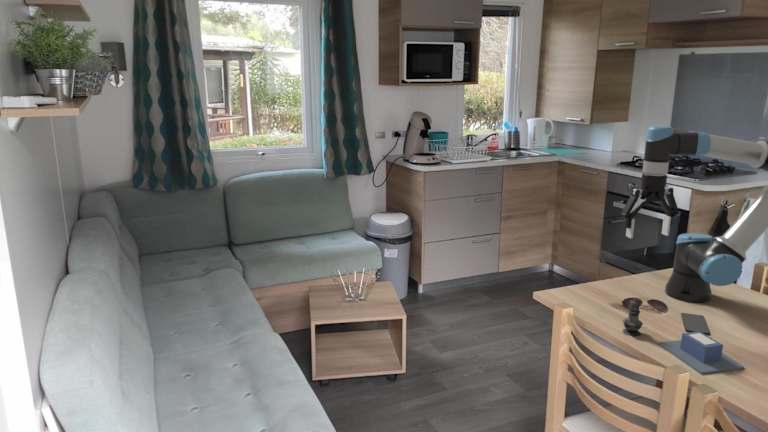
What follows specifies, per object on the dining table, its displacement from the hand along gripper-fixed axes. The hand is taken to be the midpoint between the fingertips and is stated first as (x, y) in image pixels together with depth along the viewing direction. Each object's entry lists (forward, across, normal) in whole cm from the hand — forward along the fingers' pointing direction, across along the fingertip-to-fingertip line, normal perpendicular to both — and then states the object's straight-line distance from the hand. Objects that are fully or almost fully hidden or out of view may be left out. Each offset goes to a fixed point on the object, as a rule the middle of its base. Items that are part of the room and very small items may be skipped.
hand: (647, 236), depth 196 cm
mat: (+27, +3, +33) cm, 43 cm away
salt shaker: (+27, +13, +15) cm, 33 cm away
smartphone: (+27, -11, +14) cm, 33 cm away
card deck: (+26, +3, +33) cm, 42 cm away
